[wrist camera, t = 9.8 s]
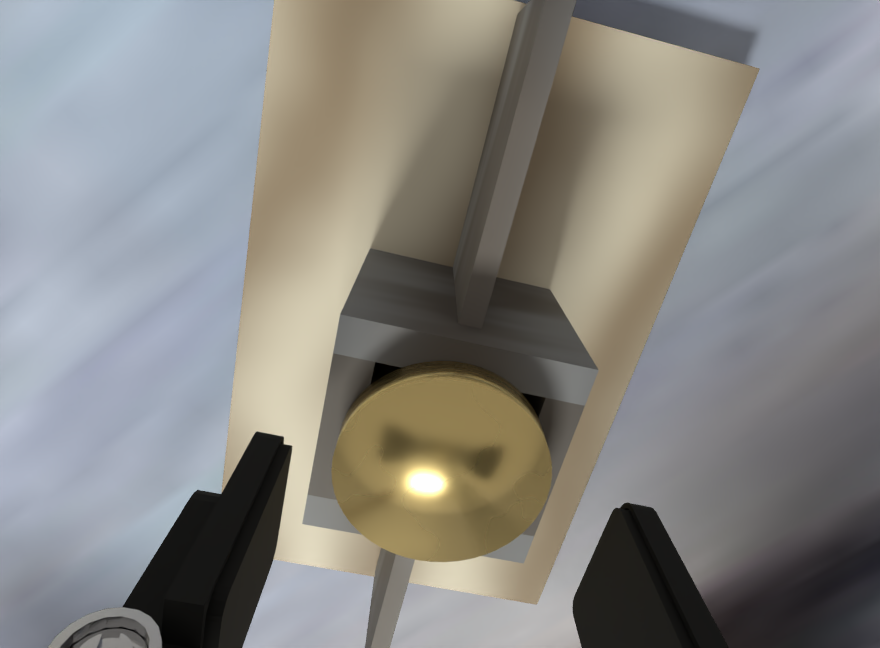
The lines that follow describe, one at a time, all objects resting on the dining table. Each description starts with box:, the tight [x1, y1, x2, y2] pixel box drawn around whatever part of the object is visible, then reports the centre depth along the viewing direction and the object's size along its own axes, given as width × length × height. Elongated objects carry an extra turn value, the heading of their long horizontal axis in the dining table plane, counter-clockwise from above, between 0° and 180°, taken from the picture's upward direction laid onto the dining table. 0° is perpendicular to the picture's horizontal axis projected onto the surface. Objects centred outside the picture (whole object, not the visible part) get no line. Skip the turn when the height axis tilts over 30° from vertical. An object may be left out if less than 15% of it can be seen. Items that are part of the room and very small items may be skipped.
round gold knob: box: [331, 361, 552, 562], centre depth 16 cm, size 5×5×6 cm
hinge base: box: [222, 0, 759, 648], centre depth 17 cm, size 14×22×7 cm, turn 167°
